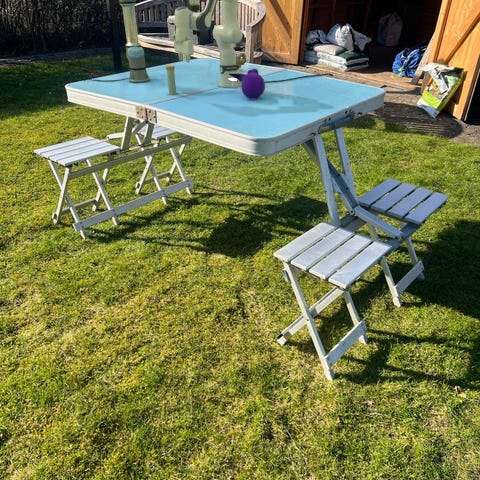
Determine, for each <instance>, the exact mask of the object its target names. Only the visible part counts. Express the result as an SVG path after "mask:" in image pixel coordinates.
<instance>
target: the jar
mask: <svg viewBox="0 0 480 480" xmlns="http://www.w3.org/2000/svg"><path fill="white" fill-rule="evenodd" d="M175 75H176V74H175V69H173V70H167V69H166V77H167V89H168V95H171V96H173V95H176V94H177V85H176V76H175Z"/></svg>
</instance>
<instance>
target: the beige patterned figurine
mask: <svg viewBox="0 0 480 480" xmlns="http://www.w3.org/2000/svg"><path fill="white" fill-rule="evenodd" d="M241 58H242V60H241ZM246 62H247V56H246V54H245V53H244V52H241V53H239V54H238V55H237V53H236V64H237V65H241V66H243V65H245V64H246ZM238 70H240V68H238Z"/></svg>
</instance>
